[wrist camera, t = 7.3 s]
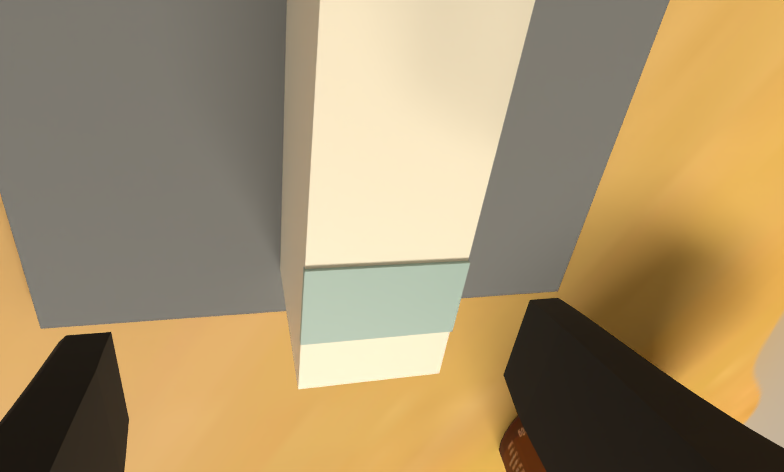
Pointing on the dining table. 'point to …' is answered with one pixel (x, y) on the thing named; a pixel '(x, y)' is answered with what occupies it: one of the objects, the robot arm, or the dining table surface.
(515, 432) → the food container
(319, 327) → the cream box
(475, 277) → the mat
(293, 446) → the dining table surface
